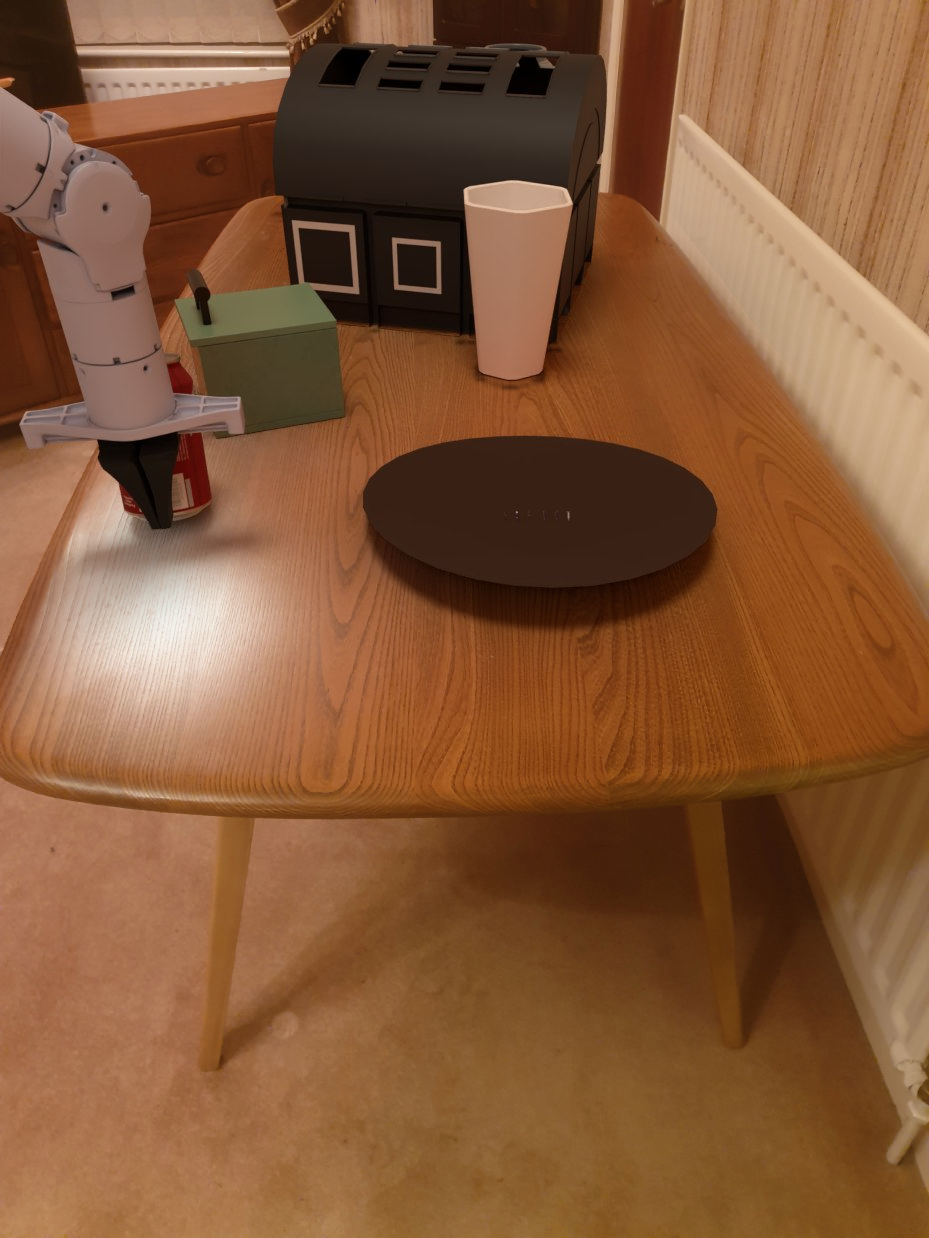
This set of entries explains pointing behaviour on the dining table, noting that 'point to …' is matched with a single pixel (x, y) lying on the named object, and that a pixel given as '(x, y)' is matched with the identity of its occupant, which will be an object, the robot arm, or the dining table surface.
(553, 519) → the plate
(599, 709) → the dining table surface
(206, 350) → the bin
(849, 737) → the dining table surface
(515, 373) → the cup
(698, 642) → the dining table surface
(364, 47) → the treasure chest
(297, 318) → the bread bin lid
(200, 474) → the soda can
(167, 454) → the robot arm
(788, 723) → the dining table surface
